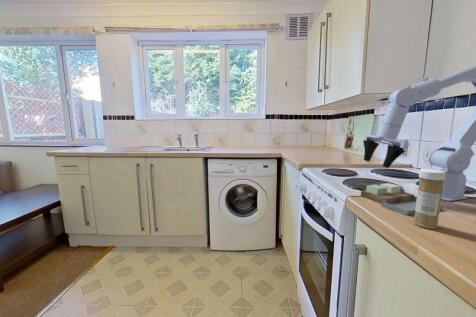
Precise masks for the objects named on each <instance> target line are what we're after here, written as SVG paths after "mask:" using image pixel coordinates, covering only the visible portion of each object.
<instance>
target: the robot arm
mask: <svg viewBox="0 0 476 317" xmlns="http://www.w3.org/2000/svg"><path fill="white" fill-rule="evenodd" d="M463 82H465V83H470V84H471V85H472V86H473V87H474V88H475V89H476V65H473V66H469V67H466V68H463V69H460V70H459V71H456V72H454V73H451V74H448V75H446V76H444V77H441V78H439V79H437V78H433V77H431V78H428V77H424V78H423V79H421V80H420V82H417V83H414V84H412V85H411V84H408V85H405V86H404V88H402V89H398V90H395V91H394V92H392V93H391V94H390V96H388V97H387V104H388V106H387V109H386V111H385V114H384V116H383V119H382V122H381V124H380V126H379V129H378V131H377V134H376V135H373V134H367V133H366V134H365V135H364V140H363V141H362V142H363V148H364V154H363V161H366V162H370V161H371V159H372V157H373V155H374V152H375V151H376V150H377V148H378V147H379V146H380V144H384V145H386V146H387V148H386V149H387V150H386V151H387V152H386V154H385V155H386V156H385V159H384V161H383V163H382V167H384V168H387V169H389V168H390V167H391V166H392V164H393V163H394V162H395V161H396V160H397V159H398V158H399V157H400V156H401V155H402V154H404V153H405V152H406V150H407V149H408V147H409V145H410V143H409V142H408V141H407V142H406V141H402V140H398V136H399V135H400V131H401V128H402V127H403V124H404V122H405V119H406V117H407V115H408V112H409V109H410V108H411V107H413V106H414V105H415V104H417V103H419V102H421V101H424V100H427V99H429V98H432V97H435V96H438V95H439V94H440V92H441V90H442V89H446V88H449V87H451V86H454V85H457V84H460V83H463ZM410 106H411V107H410ZM475 143H476V105H475V106H474V107H473V109H472V110H471V111H470V113H469V114H468V115H467V116H466V118H465V120H464V121H463V122H462V123H461V124H460V126H459V127H458V129H457V130H456V131H455V133H454V134H453V135H452V137H451V138H450V139H449V140H447V141H445V142H444V143H441V144H440V145H439V146H438V148H436V149H435V150H433V151H431V152H430V154H429V156H428V162H429V165H431V169H434V170H440V171H444V172H445V173H446V174H445V180H444V182H443V188H442V196H441V200H444V201H447V202H453V201H458V200H466V199H468V196H466V195H465V191H466V186H467V177H466V175H465V173H464V171H465V170H467V169H468V168H469V167H470V165H471V160H472V158H473V156H474V155H475V153H474V152H475V151H474V150H473V149H472V147H473V146H474V144H475ZM405 149H406V150H405ZM464 195H465V196H464Z"/></svg>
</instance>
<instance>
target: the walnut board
mask: <svg viewBox="0 0 476 317" xmlns="http://www.w3.org/2000/svg"><path fill="white" fill-rule="evenodd" d="M360 197H362V198H365V199H367V200H371V201H373V202H377V203H378V204H381V205H382V202H385V203H388V204H391V203H398V202H405V201H412V200H414V198H415V194H413V193H409V192H405V191H403V190H400V192H397V193H389V192H387V194H381V195H376V194H373V193H370V192H367V191H366V189H362V190H360Z"/></svg>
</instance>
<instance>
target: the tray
mask: <svg viewBox="0 0 476 317" xmlns="http://www.w3.org/2000/svg"><path fill="white" fill-rule="evenodd" d="M416 200H417V197H414V200H412V201H405V202H398V203H391V204H388V203H385V202H382V204H381V207H383V208H386V209H389V210H391V211H394V212H397V213H399V214H401V215H405V216H411V215H415V208H416ZM442 209H443V205H441V206H440V210H442Z"/></svg>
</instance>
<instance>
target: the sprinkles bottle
mask: <svg viewBox="0 0 476 317" xmlns="http://www.w3.org/2000/svg"><path fill="white" fill-rule="evenodd" d="M418 173H419V174H418V177H419V178H418V179H419V180H418V188H417V194H416V198H417V200H416V208H415V214H414V218H413V224H414V225H416V226H418V227H421V228H422V229H429V230H435V229H438V228H439V227H438V226H439V225H438V223H439V216H440V206H441V204H442V199H441V196H442V188H443V182H444V180H445V174H446V173H445V172H444V171H440V170H434V169H432V168H420V169H419V172H418Z"/></svg>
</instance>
